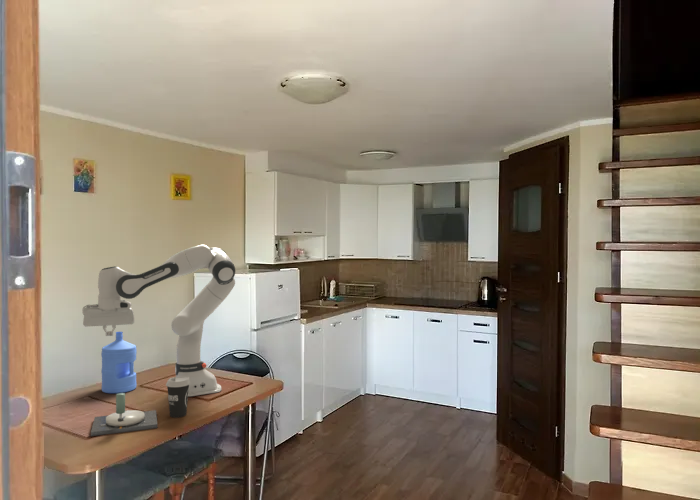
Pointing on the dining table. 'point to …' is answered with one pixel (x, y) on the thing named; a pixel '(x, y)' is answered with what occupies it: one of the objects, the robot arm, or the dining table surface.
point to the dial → (124, 414)
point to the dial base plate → (103, 428)
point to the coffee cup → (178, 396)
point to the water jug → (118, 366)
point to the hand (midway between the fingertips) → (109, 335)
